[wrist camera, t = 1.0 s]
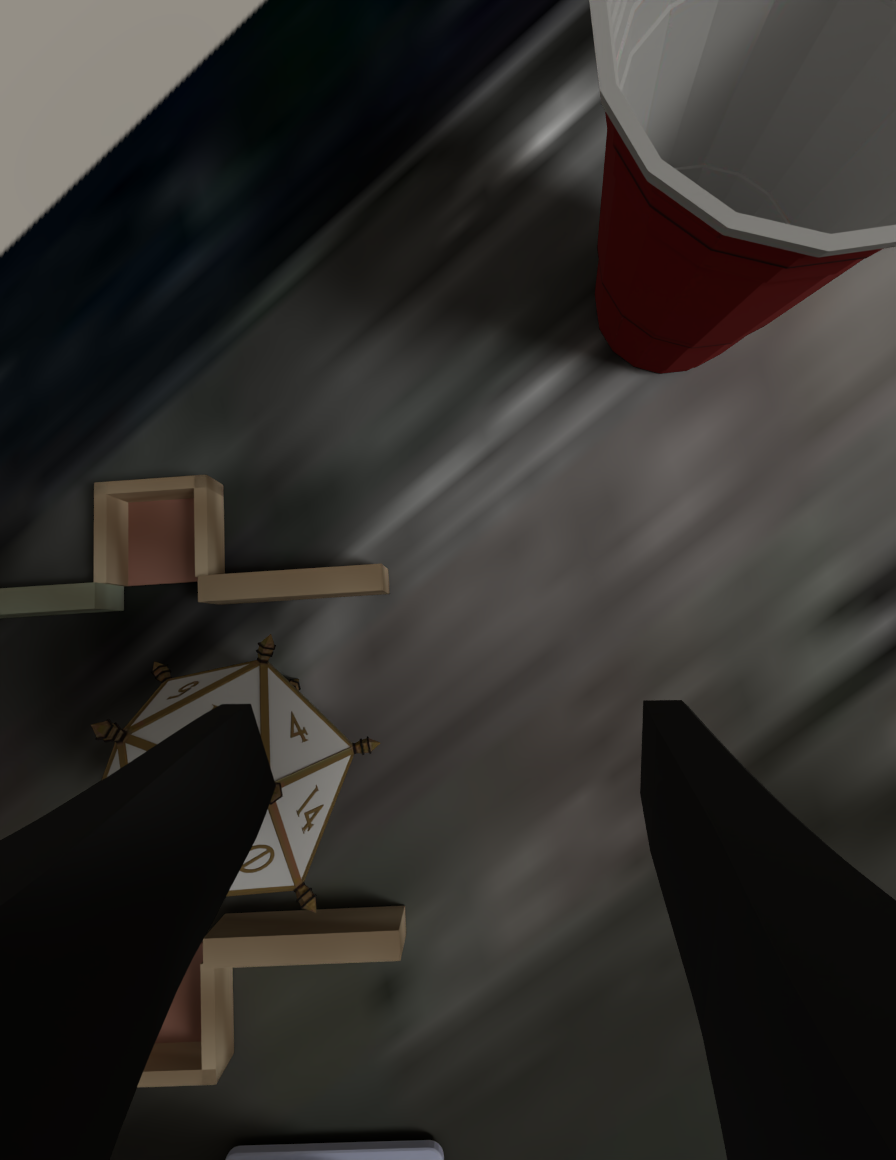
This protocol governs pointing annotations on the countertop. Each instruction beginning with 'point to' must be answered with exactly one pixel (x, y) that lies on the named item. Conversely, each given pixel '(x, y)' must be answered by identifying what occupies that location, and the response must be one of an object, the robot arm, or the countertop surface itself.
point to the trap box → (196, 554)
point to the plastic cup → (737, 164)
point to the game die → (293, 747)
